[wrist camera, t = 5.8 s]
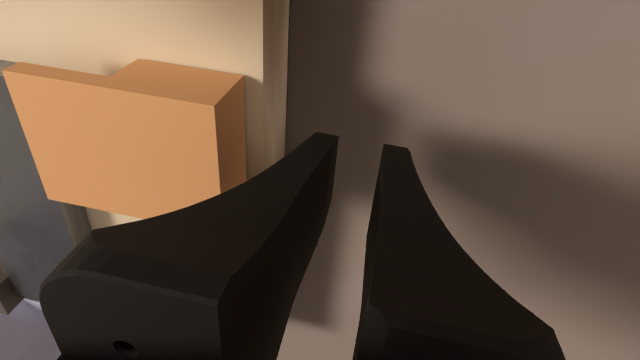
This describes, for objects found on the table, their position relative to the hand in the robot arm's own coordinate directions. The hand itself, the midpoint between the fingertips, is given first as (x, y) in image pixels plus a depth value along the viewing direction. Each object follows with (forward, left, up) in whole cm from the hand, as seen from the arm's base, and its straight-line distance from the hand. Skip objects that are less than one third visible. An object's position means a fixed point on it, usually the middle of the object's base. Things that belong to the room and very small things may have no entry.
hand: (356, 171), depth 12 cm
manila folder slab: (0, +6, -1) cm, 6 cm away
